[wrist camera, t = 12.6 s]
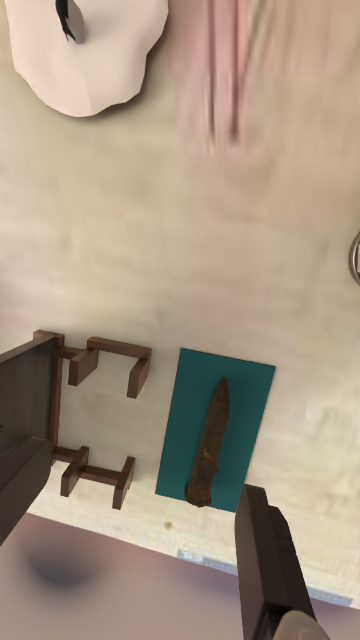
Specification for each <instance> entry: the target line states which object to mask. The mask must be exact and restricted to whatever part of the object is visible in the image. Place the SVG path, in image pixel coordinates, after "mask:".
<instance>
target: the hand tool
mask: <svg viewBox="0 0 360 640" xmlns="http://www.w3.org/2000/svg"><path fill="white" fill-rule="evenodd" d="M229 404H230V401H229V391H228V390H227V383H226V378H225V377H223V378H222V379H221V381H220V382H219V383H218V386H217V387H216V389H215V391H214V393H213V396H212V398H211V400H210V403H209V405H208V412H207V416H206V420H205V423H204V427H203V430H202V434H201V438H200V442H199V447H198V450H197V453H196V457H195V459H194V465H193V469H192V475H191V478H190V481H189V482H188V483H186V484H185V490H184V496H185V499H186V501H187V502H188V503H190V504H192V505H195V506H197V507H199V508H200V507H204V506H207V505H210V504H211V501H212V498H211V495H210V489H211V486H212V481H213V478H214V476H215V474H217V472H218V465H217V460H218V456H219V452H220V447H221V442H222V438H223V434H224V433H225V431H226V427H227V423H228V419H229V408H230V407H229Z"/></svg>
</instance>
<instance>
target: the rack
mask: <svg viewBox="0 0 360 640" xmlns="http://www.w3.org/2000/svg"><path fill="white" fill-rule="evenodd" d="M99 350H102V351H107V352H112V353H117V354H121V355H126V356H131V357H136V358H140V359H139V360H138V362H137V363H136V365H135V366H134V367H133V369H132V370H131V372H130V376H129V384H128V391H127V397H129V398H134V399H136V398H137V396H138V394H139V392H140V390H141V388H142V386H143V385H144V383H145V381H146V379H147V375H148V369H149V362H150V355H151V348H146V347H141V346H136V345H131V344H126V343H121V342H116V341H111V340H106V339H101V338H95V337H91V338H89V339H88V340H87V348H86V349H84V350H80V349H75V348H70V347H65V346H64V335H60V334H55V333H50V332H45V331H40V330H38V331H35V332H33V340H32V341H30V342H27V343H25V344H23V345H21V346H18V347H16V348H14V349H12V350H10V351H7V352H5V353H3V354H1V355H0V455H1V454H2V453H4V452H6V451H8V450H10V449H11V448H13V447H16V448H19V447H20V446H22V445H23V444H24V443H25V442H26V441H27V440H28V439H29V438H30V437H32V436H34V437H38V438H43V439H47V440H50V441H51V443H52V447H51V466H53V464H54V463H55V462H56V460H59V461H63V462H67V463H70V465H69V466H68V468H67V469H66V470H65V472H64V473H63V475H62V478H61V492H60V495H61V496H65V497H69V495H70V493H71V492H72V490H73V488H74V487H75V485H76V483H77V482H78V480H79V478H83V479H87V480H92V481H96V482H100V483H104V484H108V485H113V486H116V487H115V490H114V497H113V505H112V508H114V509H118V510H121V507H122V504H123V501H124V498H125V495H126V493H127V490H128V489H129V488H130V485H131V482H132V476H133V469H134V463H135V458H132V457H127V460H126V462H125V465H124V467H123V470H122V472H121V473H118V472H114V471H110V470H105V469H101V468H97V467H92V466H88V465H87V463H88V453H89V448H88V447H83V446H82V447H81V449H80V450H79V451H75V450H71V449H67V448H62V447H58V446H57V441H58V425H59V409H60V393H61V378H62V362H63V358H65V359H70V365H69V380H68V385H73V386H78V385H79V384H80V383H81V382H82V381H83V380H84V379H85V378H86V377H87V376H88V375H89V374H90V373H91V372H93V371H94V370H95V369H96V368H97V361H98V351H99Z"/></svg>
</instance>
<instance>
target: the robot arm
mask: <svg viewBox="0 0 360 640" xmlns="http://www.w3.org/2000/svg"><path fill="white" fill-rule="evenodd" d="M349 265H350V270H351V273H352V275H353V277H354V279H355V280H356V282H357V283H358V284H359V285H360V233H359V234H358V235H357V237H356V238H355V240H354V242H353V244H352V247H351V250H350V256H349ZM51 447H52V443H51V441H50V440H47V439H43V438H38V437H34V436H32V437H30V438H29V439H28V440H27V441H26V442H25V443H24V444H23V445H22V446H20V447H19V448H16V447H13V448H11V449H10V450H8V451H6V452H4V453H2V454H1V455H0V546H1V545H2V543H3V542H4V541H5V539H6V538H7V537H8V535H9V534H10V533H11V531H12V530H13V528H14V527H15V526H16V524H17V523H18V522H19V520H20V519H21V518H22V516H23V515H24V514H25V512H26V511H27V509H28V508H29V507H30V505H31V504H32V503H33V501H34V500H35V499H36V497H37V496H38V495H39V493H40V492H41V490H42V489H43V488H44V486H45V485H46V483H47V481H48V478H49V475H50V471H51ZM235 543H236V555H237V567H238V578H239V589H240V601H241V613H242V625H243V636H244V640H330V638H329V637H328V635H327V634H326V632H325V631H324V630H323V628H322V627H321V626H320V625H319V624H318V623H317V620H316V618H315V615H314V612H313V609H312V605H311V602H310V599H309V595H308V592H307V588H306V585H305V581H304V578H303V574H302V571H301V568H300V564H299V561H298V557H297V556H296V550H295V547H294V544H293V541H292V537H291V533H290V530H289V526H288V523H287V521H286V519H285V518H284V516H283V515H282V513H281V512H280V510H279V509H278V507H274V506H270V505H268V501H267V496H266V492H265V489H264V488H261V487H257V486H252V485H248V484H244V485H243V488H242V491H241V495H240V499H239V503H238V507H237V511H236V516H235Z"/></svg>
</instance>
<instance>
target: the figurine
mask: <svg viewBox="0 0 360 640" xmlns="http://www.w3.org/2000/svg"><path fill="white" fill-rule="evenodd" d="M5 4H6V10H7V16H8V23H9V30H10V38H11V46H12V56H13V63H14V68H15V70H16V71H17V72H18V73H19V74H20V75H21V76H22V77H23V78H24V79H25V80H26V81H27V82H28V84H29V85H30V87H31V88H32V90H33V91H34V93H35V94H36V95H37V96H38V97H39V98H40V99H41V100H42V101H43V102H45V103H46V104H47V105H48V106H50V107H52V108H53V109H55V110H57V111H59V112H61V113H63V114H67V115H70V116H73V117H84V116H93V115H95V114H97V113H98V112H100V111H102V110H104V109H105V108H107V107H109V106H110V105H113V104H119V103H125V102H127V101H128V100H130V99H131V98H132V97H133V96H135V95H136V94H137V93H139V92H140V88H141V85H142V81H143V78H144V73H145V64H146V54H147V53H148V52H149V50H150V49H151V48H152V47H153V45H154V44H155V43H156V41H157V40H158V39H159V37H160V36H161V35H162V31H163V28H164V25H165V22H166V18H167V15H168V0H5Z"/></svg>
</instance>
